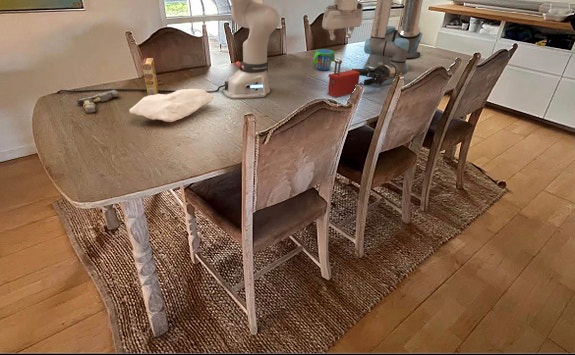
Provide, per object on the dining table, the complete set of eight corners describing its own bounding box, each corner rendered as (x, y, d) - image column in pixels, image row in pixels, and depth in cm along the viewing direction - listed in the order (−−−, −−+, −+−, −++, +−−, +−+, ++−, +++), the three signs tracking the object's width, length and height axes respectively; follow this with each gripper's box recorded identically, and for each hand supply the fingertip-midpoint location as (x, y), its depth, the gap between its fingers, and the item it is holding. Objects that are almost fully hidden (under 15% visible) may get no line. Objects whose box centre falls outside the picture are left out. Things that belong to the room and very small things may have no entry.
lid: (335, 79, 168) (337, 61, 163) (328, 76, 171) (330, 58, 167) (359, 74, 175) (362, 57, 171) (352, 71, 179) (354, 54, 174)
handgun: (128, 97, 156) (111, 87, 164) (86, 107, 144) (70, 97, 152) (129, 103, 157) (113, 94, 165) (88, 114, 146) (72, 103, 154)
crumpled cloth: (117, 110, 146) (113, 90, 140) (195, 92, 166) (194, 73, 160) (143, 139, 134) (140, 118, 128) (223, 116, 154) (224, 96, 148)
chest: (334, 97, 173) (336, 79, 168) (327, 94, 176) (329, 76, 172) (357, 92, 180) (359, 74, 175) (350, 89, 184) (352, 72, 179)
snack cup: (328, 65, 219) (329, 47, 214) (339, 69, 212) (341, 51, 206) (307, 68, 212) (308, 50, 206) (318, 73, 204) (319, 54, 199)
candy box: (157, 97, 164) (152, 63, 155) (147, 98, 163) (141, 63, 155) (158, 91, 171) (153, 57, 163) (149, 91, 170) (143, 58, 162)
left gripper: (330, 6, 147) (327, 42, 154) (366, 4, 157) (361, 38, 164) (320, 4, 151) (317, 39, 158) (356, 2, 161) (352, 35, 169)
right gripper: (401, 86, 181) (372, 94, 171) (365, 73, 198) (336, 79, 188) (404, 71, 177) (374, 78, 167) (367, 59, 194) (338, 64, 183)
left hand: (340, 38), depth 162 cm, fingers open, 8 cm apart
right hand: (354, 78), depth 177 cm, fingers open, 13 cm apart
